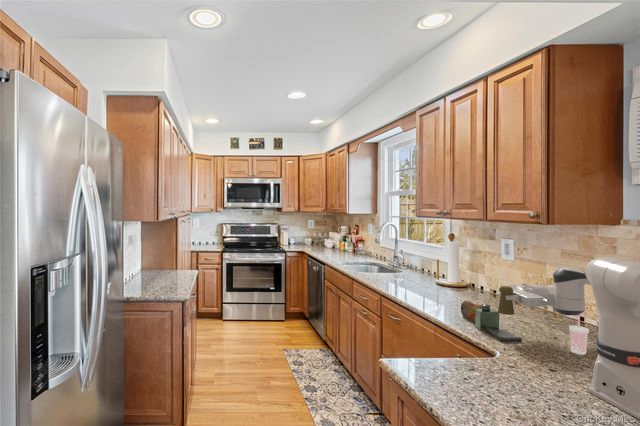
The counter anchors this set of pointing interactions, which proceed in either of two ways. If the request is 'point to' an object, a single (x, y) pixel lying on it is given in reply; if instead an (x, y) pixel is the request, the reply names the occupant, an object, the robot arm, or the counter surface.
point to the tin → (469, 310)
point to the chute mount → (493, 324)
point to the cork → (505, 301)
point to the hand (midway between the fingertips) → (502, 295)
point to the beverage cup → (578, 338)
